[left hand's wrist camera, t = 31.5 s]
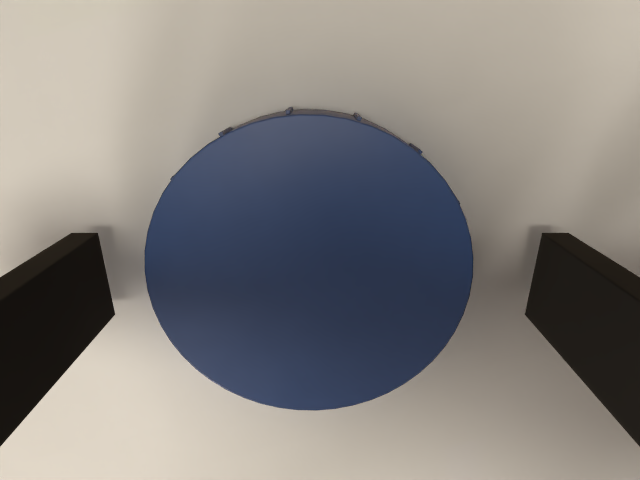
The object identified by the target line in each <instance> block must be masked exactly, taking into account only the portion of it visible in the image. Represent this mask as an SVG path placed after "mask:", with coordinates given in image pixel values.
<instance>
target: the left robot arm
mask: <svg viewBox="0 0 640 480" xmlns="http://www.w3.org/2000/svg"><path fill="white" fill-rule="evenodd" d="M114 315H115V312H114V307H113V302H112V298H111V293H110V288H109V284H108V279H107V274H106V269H105V265H104V260H103V255H102V251H101V246H100V241H99V236H98V233H71V234H69V235H68V236H66V237H64V238H63V239H61V240H60V241H58V242H56V243H55V244H53V245H52V246H50V247H48V248H47V249H45V250H44V251H42V252H40V253H39V254H37V255H36V256H34V257H32V258H31V259H29V260H28V261H26V262H24V263H23V264H21V265H19V266H18V267H16V268H15V269H13V270H11V271H10V272H8V273H7V274H5V275H3V276H2V277H0V446H1V445H2V444H3V443H4V442H5V440H6V439H7V438H8V437H9V436H10V435H11V434H12V432H13V431H14V430H15V429H16V428H17V427H18V426H19V424H20V423H21V422H22V421H23V420H24V419H25V417H26V416H27V415H28V414H29V413H30V412H31V411H32V409H33V408H34V407H35V406H36V405H37V404H38V403H39V401H40V400H41V399H42V398H43V397H44V396H45V394H46V393H47V392H48V391H49V390H50V389H51V388H52V386H53V385H54V384H55V383H56V382H57V381H58V380H59V378H60V377H61V376H62V375H63V374H64V373H65V371H66V370H67V369H68V368H69V367H70V366H71V365H72V363H73V362H74V361H75V360H76V359H77V358H78V356H79V355H80V354H81V353H82V352H83V351H84V350H85V348H86V347H87V346H88V345H89V344H90V343H91V342H92V340H93V339H94V338H95V337H96V336H97V335H98V333H99V332H100V331H101V330H102V329H103V328H104V327H105V325H106V324H107V323H108V322H109V321H110V320H111V319H112V317H113V316H114ZM525 315H526V316H527V317H528V319H529V320H530V321H531V322H532V323H533V324H534V325H535V327H536V328H537V329H538V330H539V331H540V332H541V333H542V335H543V336H544V337H545V338H546V339H547V340H548V342H549V343H550V344H551V345H552V346H553V347H554V348H555V350H556V351H557V352H558V353H559V354H560V355H561V356H562V358H563V359H564V360H565V361H566V362H567V363H568V365H569V366H570V367H571V368H572V369H573V370H574V371H575V373H576V374H577V375H578V376H579V377H580V378H581V380H582V381H583V382H584V383H585V384H586V385H587V386H588V388H589V389H590V390H591V391H592V392H593V393H594V394H595V396H596V397H597V398H598V399H599V400H600V401H601V403H602V404H603V405H604V406H605V407H606V408H607V409H608V411H609V412H610V413H611V414H612V415H613V416H614V417H615V419H616V420H617V421H618V422H619V423H620V424H621V426H622V427H623V428H624V429H625V430H626V431H627V432H628V434H629V435H630V436H631V437H632V438H633V439H634V440H635V442H636V443H637V444H638V445H639V446H640V277H638V276H637V275H635V274H633V273H632V272H630V271H629V270H627V269H625V268H624V267H622V266H621V265H619V264H617V263H616V262H614V261H612V260H611V259H609V258H608V257H606V256H604V255H603V254H601V253H600V252H598V251H596V250H595V249H593V248H592V247H590V246H588V245H587V244H585V243H584V242H582V241H580V240H579V239H577V238H576V237H574V236H572V235H571V234H569V233H542V236H541V241H540V246H539V251H538V255H537V260H536V265H535V269H534V274H533V279H532V284H531V288H530V293H529V298H528V302H527V307H526V312H525Z"/></svg>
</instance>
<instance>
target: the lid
mask: <svg viewBox="0 0 640 480" xmlns="http://www.w3.org/2000/svg"><path fill="white" fill-rule="evenodd" d="M222 135H223V136H222ZM219 136H220V137H219V138H217V139H216V140H214V141H212V142H211V143H209V144H207V145H206V146H205V147H204V148H202V149H201V150H200V151H199V152H198V153H196V154H195V155H194V156H193V157H191V158H190V159H189V160H188V161H187V162H186V163H185V165H184V166H183V167H182V168H181V169H180V170H179V171H178V172H177V173H176V174H175V175H174V176H172V178H171V179H170V180H171V181H170V183H169V184H168V186H167V187H166V189H165V190H164V192H163V193H162V195H161V197H160V200H159V202H158V204H157V206H156V208H155V210H154V212H153V216H152V219H151V222H150V225H149V229H148V233H147V240H146V246H145V275H146V282H147V289H148V293H149V296H150V300H151V303H152V306H153V309H154V311H155V314H156V316H157V318H158V320H159V322H160V325H161V327H162V328H163V330H164V331H165V333H166V335H167V336H168V338H169V339H170V341H171V342H172V344H173V345H174V346H175V347H176V349H177V350H178V351H179V352H180V354H181V355H182V356H183V357H184V358H185V359H186V360H187V361H188V362H189V363H190V364H191V365H192V366H193V367H194V368H195V369H197V370H198V371H199V372H201V373H202V374H203V375H204V376H206V377H207V378H208V379H210V380H211V381H213V382H214V383H216V384H218V385H219V386H221V387H223V388H224V389H226V390H228V391H230V392H232V393H234V394H237V395H239V396H241V397H243V398H246V399H249V400H252V401H255V402H258V403H261V404H265V405H269V406H274V407H278V408H285V409H294V410H326V409H336V408H342V407H347V406H352V405H356V404H359V403H363V402H366V401H369V400H372V399H375V398H377V397H379V396H382V395H384V394H386V393H389V392H390V391H392V390H394V389H396V388H398V387H399V386H401V385H403V384H405V383H406V382H407V381H409V380H410V379H412V378H413V377H414V376H416V375H417V374H419V373H420V372H421V371H422V370H423V369H424V368H425V367H426V366H428V365H429V364H430V363H431V362H432V361H433V360H434V359H435V358H436V356H437V355H438V354H439V353H440V352H441V351H442V349H443V348H444V347H445V346H446V344H447V343H448V341H449V340H450V338H451V337H452V335H453V334H454V332H455V330H456V328H457V326H458V324H459V322H460V320H461V318H462V316H463V314H464V311H465V308H466V305H467V302H468V299H469V295H470V289H471V283H472V278H473V252H472V243H471V237H470V233H469V229H468V225H467V222H466V218H465V216H464V214H463V211H462V209H461V207H460V203H459V201H458V200H457V198H456V196H455V195H454V193H453V192H452V190H451V189H450V187H449V185H448V184H447V182H446V181H445V179H444V178H443V177H442V176H441V175H440V174H439V172H438V171H437V170H436V169H435V168H434V167H433V165H432V164H431V163H430V162H428V161H427V160H426V159H425V158H424V157H423V156H422V155H420V154H421V153H422V151H421V150H420V149H418V148H417V147H416V146H414V145H413V144H410V145H408V144H407V143H405V142H404V141H403V140H401V139H400V138H398V137H397V136H395V135H394V134H392V133H391V132H389V131H388V130H386V129H384V128H382V127H380V126H378V125H376V124H374V123H372V122H369V121H367V120H365V119H362V117H361V116H360V115H359V114H357V113H354V116H352V115H349V114H345V113H340V112H333V111H327V110H307V109H301V110H293V107H289V108H288V109H287V110H286V111H283V112H278V113H274V114H270V115H266V116H262V117H259V118H256V119H254V120H251V121H249V122H247V123H244V124H242V125H240V126H238V127H236V128H234V129H233V130H232V128H231V127H229V128H227V129H226V130H224V131H222V132H220V133H219Z"/></svg>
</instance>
